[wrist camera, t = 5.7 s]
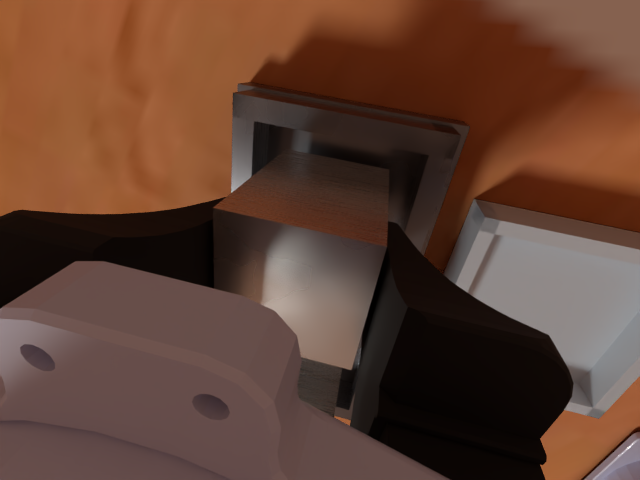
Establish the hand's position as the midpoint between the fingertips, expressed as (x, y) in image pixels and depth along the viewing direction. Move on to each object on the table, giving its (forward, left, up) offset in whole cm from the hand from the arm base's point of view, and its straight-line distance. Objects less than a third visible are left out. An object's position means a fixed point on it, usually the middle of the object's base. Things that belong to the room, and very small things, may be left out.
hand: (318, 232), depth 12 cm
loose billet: (0, 0, -2) cm, 2 cm away
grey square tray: (-11, +4, -4) cm, 12 cm away
